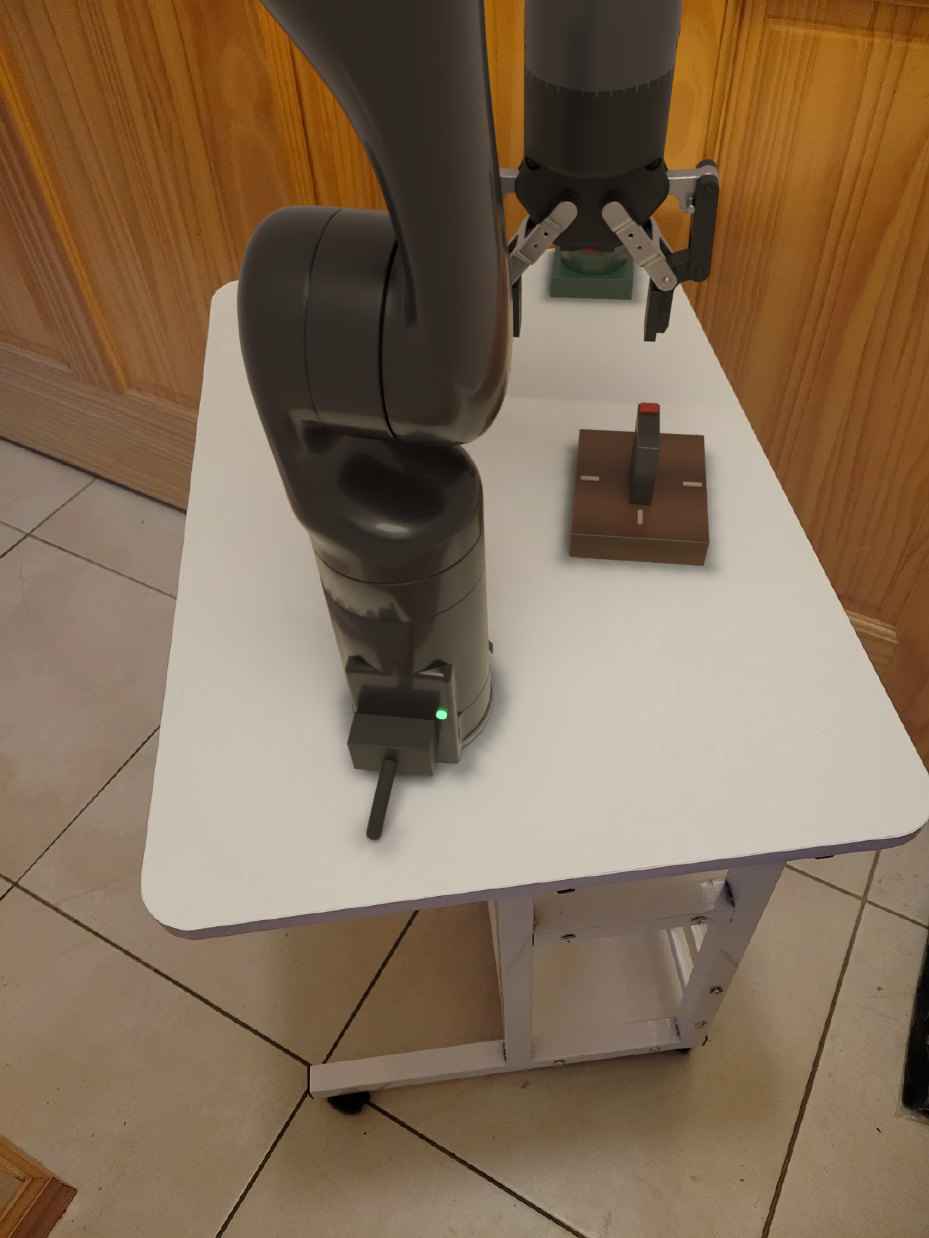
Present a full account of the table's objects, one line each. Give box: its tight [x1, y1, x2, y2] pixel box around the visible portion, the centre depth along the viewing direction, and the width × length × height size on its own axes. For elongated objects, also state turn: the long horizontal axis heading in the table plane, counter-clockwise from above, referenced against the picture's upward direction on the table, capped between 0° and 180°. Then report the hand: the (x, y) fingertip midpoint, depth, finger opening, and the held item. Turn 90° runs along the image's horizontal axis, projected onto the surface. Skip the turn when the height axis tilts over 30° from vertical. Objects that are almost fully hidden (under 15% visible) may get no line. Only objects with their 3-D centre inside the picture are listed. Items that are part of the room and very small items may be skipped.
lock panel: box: [568, 428, 710, 566], centre depth 70 cm, size 12×10×3 cm
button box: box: [550, 245, 635, 301], centre depth 90 cm, size 8×8×4 cm
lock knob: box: [630, 401, 661, 504], centre depth 67 cm, size 5×2×6 cm, turn 172°
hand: (582, 332), depth 57 cm, fingers open, 8 cm apart
